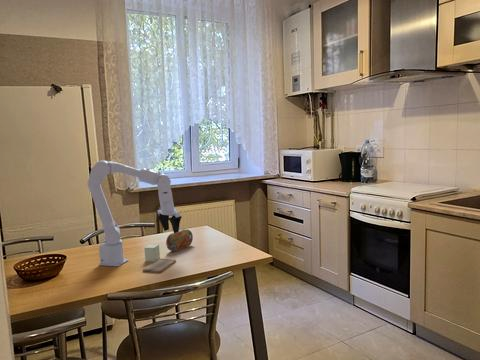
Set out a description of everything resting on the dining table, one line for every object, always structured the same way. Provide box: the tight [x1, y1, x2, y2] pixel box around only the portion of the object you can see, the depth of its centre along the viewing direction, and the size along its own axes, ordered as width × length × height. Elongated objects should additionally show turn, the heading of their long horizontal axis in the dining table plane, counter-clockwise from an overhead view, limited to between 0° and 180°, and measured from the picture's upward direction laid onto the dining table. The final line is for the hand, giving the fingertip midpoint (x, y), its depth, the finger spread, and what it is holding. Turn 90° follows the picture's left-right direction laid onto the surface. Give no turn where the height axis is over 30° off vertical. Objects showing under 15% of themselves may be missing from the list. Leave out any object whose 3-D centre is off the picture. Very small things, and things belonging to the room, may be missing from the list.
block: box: [143, 243, 161, 263], centre depth 166 cm, size 5×5×6 cm
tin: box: [165, 229, 194, 252], centre depth 180 cm, size 15×3×8 cm, turn 143°
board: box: [142, 257, 177, 274], centre depth 158 cm, size 8×13×2 cm, turn 162°
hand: (171, 231), depth 170 cm, fingers open, 7 cm apart
